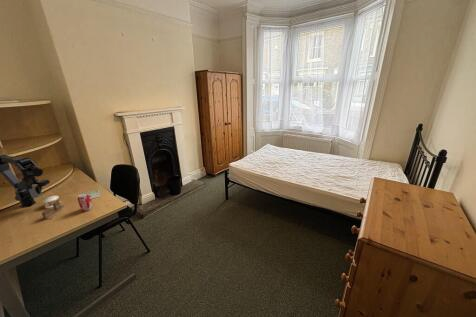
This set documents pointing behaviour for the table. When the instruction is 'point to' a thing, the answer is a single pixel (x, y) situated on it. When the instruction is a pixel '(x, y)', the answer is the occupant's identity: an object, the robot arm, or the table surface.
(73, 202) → the table surface
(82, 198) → the soda can
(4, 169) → the robot arm
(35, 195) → the gray rectangular block
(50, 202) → the bobbin
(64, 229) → the table surface
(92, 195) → the handheld gaming console
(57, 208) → the notched board
